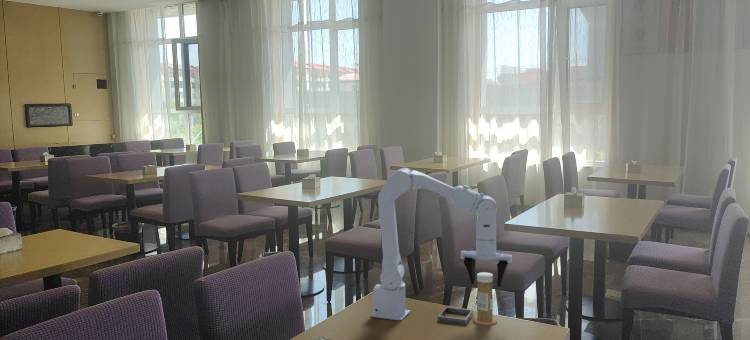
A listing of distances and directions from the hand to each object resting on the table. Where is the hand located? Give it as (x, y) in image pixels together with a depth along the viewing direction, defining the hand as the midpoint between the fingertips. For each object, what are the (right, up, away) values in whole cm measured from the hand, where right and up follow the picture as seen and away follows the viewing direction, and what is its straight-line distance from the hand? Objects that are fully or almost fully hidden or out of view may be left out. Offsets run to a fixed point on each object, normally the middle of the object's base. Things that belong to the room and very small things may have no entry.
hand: (486, 284), depth 166 cm
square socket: (-8, -10, +3) cm, 14 cm away
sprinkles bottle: (0, -10, 0) cm, 10 cm away
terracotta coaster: (0, -11, 0) cm, 10 cm away
